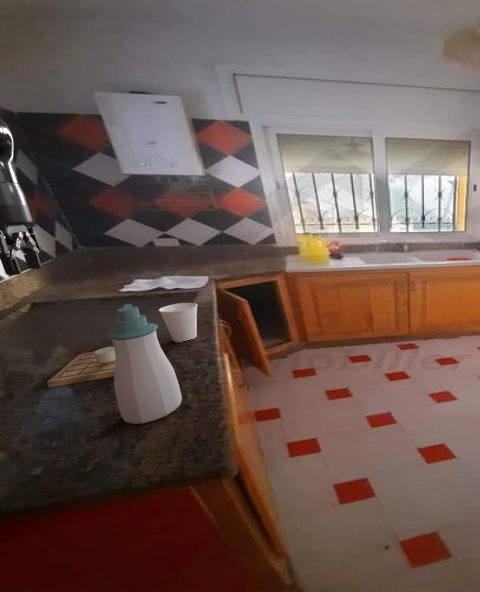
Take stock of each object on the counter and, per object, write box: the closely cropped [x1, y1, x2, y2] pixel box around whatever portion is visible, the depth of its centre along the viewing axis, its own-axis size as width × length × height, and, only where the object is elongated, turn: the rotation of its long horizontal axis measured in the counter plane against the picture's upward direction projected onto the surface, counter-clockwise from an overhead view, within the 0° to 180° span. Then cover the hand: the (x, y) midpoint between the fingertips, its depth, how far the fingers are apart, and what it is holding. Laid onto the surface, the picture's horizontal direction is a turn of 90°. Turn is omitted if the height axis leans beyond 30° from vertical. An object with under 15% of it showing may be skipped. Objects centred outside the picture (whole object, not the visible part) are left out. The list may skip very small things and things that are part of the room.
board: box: [46, 351, 115, 389], centre depth 86 cm, size 17×17×2 cm
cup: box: [158, 302, 198, 343], centre depth 101 cm, size 10×10×11 cm
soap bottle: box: [106, 303, 183, 425], centre depth 64 cm, size 10×10×23 cm
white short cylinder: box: [93, 345, 116, 363], centre depth 85 cm, size 5×5×3 cm
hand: (25, 271), depth 78 cm, fingers open, 8 cm apart
